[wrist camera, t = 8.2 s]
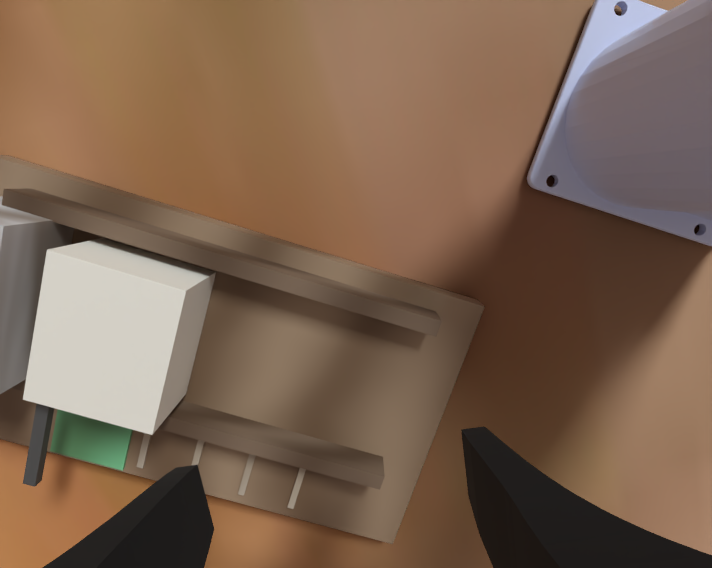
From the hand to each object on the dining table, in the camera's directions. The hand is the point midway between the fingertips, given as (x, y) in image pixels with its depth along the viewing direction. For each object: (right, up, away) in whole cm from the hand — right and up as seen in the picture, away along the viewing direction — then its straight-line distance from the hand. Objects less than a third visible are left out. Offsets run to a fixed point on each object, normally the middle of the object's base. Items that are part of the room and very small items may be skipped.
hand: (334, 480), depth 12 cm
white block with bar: (-9, +2, +8) cm, 13 cm away
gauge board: (-6, +2, +10) cm, 12 cm away
